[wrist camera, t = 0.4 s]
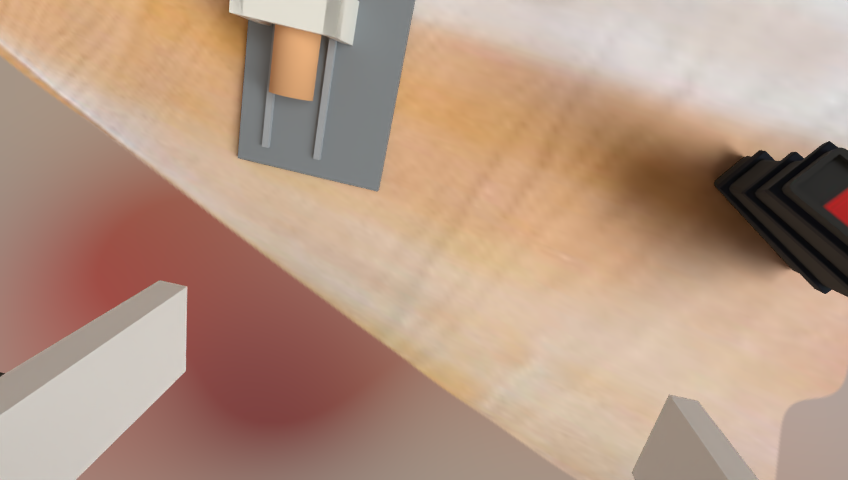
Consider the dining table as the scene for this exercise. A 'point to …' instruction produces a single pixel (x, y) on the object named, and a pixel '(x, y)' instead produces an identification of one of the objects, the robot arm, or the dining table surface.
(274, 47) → the tan cylindrical rod
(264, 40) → the guide mat
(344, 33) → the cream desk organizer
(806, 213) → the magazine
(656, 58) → the dining table surface
